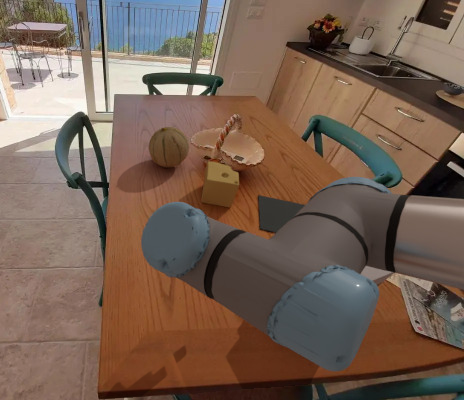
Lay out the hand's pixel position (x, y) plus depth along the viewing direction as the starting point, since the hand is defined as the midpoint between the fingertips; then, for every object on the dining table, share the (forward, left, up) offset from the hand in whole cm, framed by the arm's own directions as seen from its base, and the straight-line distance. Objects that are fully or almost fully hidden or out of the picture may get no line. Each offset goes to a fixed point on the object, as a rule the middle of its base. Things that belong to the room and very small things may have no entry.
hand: (274, 288), depth 51 cm
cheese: (+40, +11, -13) cm, 43 cm away
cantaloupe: (+53, +31, -13) cm, 63 cm away
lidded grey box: (+10, -14, -13) cm, 22 cm away
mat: (+37, -11, -13) cm, 40 cm away
